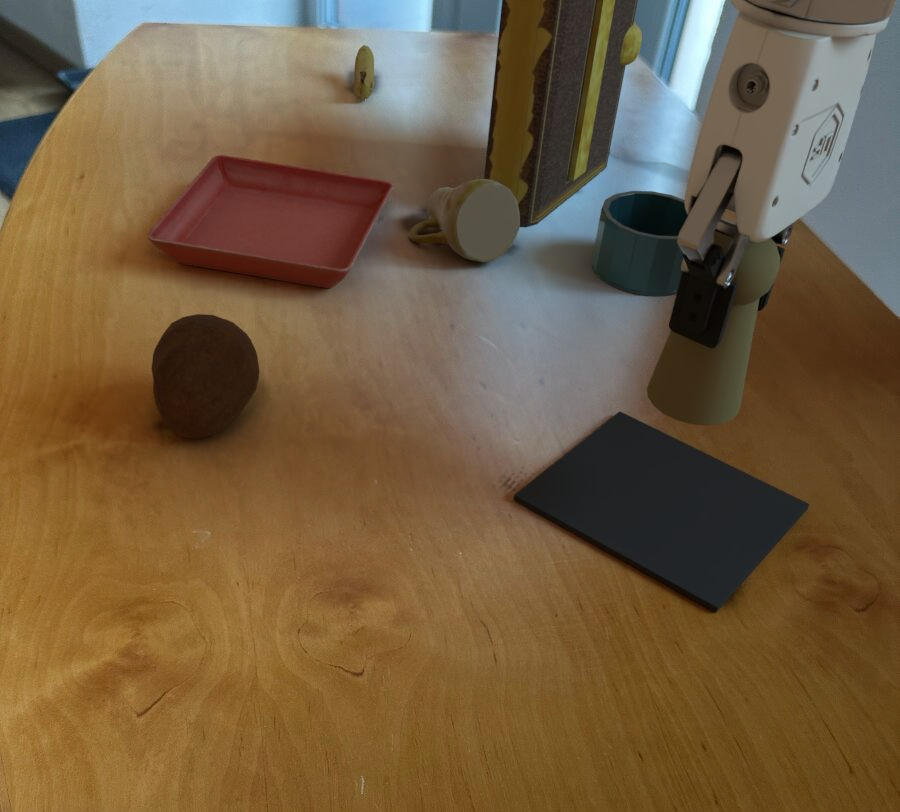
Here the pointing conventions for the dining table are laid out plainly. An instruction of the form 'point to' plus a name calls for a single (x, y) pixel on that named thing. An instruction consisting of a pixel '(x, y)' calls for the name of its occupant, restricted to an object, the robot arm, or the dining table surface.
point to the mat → (664, 508)
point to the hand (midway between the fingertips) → (718, 316)
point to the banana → (364, 73)
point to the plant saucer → (271, 220)
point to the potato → (203, 374)
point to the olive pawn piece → (716, 349)
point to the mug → (472, 219)
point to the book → (556, 96)
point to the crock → (640, 242)
